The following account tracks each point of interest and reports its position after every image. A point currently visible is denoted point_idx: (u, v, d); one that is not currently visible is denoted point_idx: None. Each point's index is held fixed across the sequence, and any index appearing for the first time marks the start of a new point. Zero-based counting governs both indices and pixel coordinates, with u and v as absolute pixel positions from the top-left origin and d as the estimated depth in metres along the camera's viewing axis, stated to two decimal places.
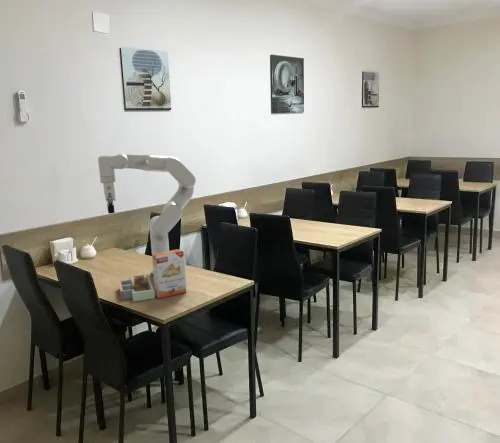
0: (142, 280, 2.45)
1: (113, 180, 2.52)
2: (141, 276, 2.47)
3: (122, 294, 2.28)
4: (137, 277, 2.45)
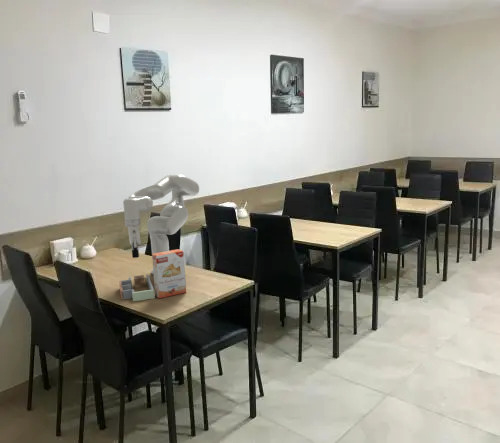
0: (142, 280, 2.45)
1: (138, 223, 2.46)
2: (141, 276, 2.47)
3: (122, 294, 2.28)
4: (137, 277, 2.45)
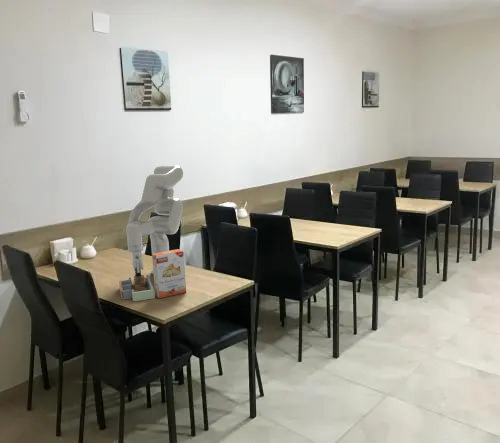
0: (142, 280, 2.44)
1: (141, 248, 2.46)
2: (141, 276, 2.46)
3: (122, 294, 2.28)
4: (137, 277, 2.45)
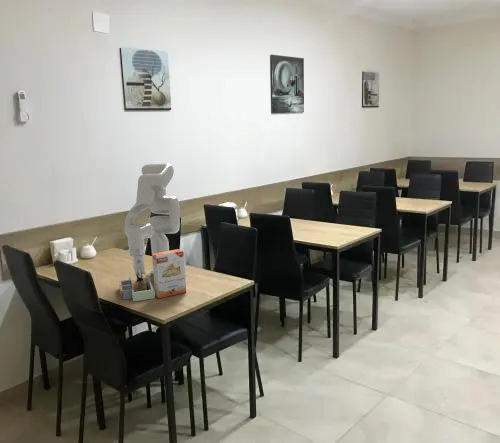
0: (144, 285, 2.35)
1: (143, 253, 2.37)
2: (143, 281, 2.37)
3: (122, 294, 2.28)
4: (139, 282, 2.36)
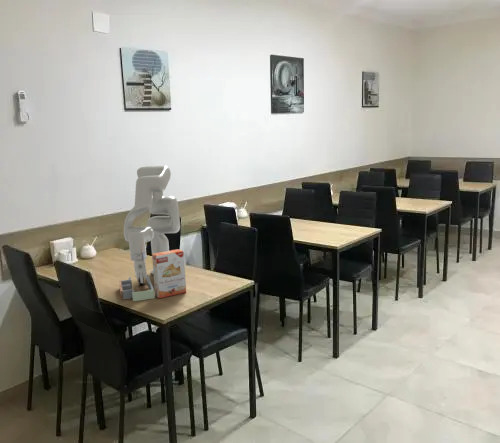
0: None
1: (144, 257, 2.29)
2: (145, 286, 2.29)
3: (122, 294, 2.28)
4: (140, 287, 2.28)
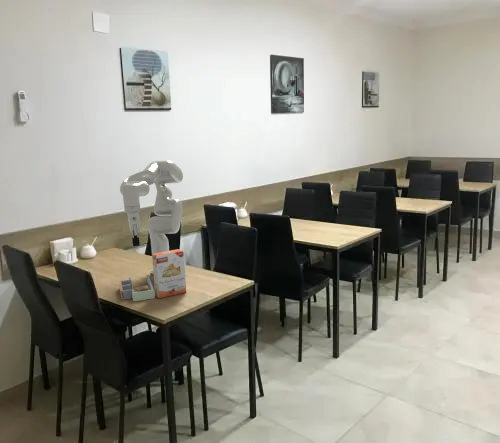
0: None
1: (138, 210, 2.34)
2: (145, 286, 2.29)
3: (122, 294, 2.28)
4: (140, 288, 2.28)
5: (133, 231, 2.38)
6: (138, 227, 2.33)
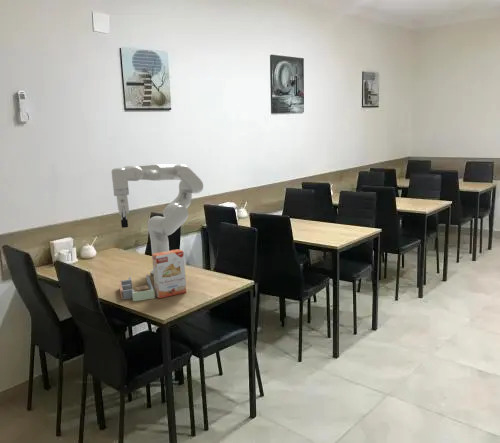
0: None
1: (127, 193, 2.47)
2: (145, 286, 2.29)
3: (122, 294, 2.28)
4: (140, 288, 2.28)
5: (122, 213, 2.51)
6: (126, 209, 2.46)
